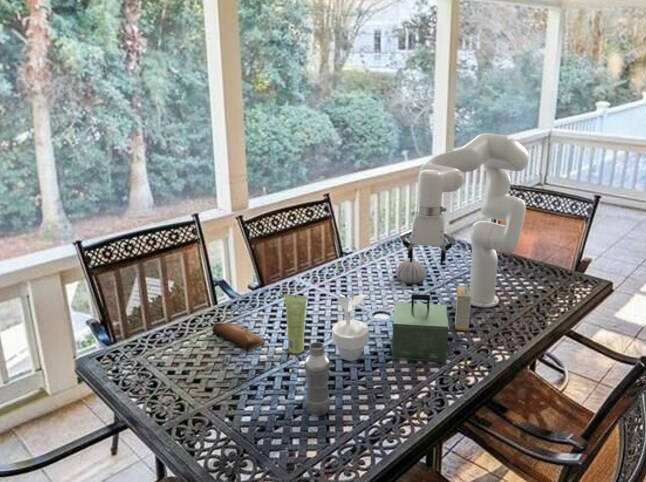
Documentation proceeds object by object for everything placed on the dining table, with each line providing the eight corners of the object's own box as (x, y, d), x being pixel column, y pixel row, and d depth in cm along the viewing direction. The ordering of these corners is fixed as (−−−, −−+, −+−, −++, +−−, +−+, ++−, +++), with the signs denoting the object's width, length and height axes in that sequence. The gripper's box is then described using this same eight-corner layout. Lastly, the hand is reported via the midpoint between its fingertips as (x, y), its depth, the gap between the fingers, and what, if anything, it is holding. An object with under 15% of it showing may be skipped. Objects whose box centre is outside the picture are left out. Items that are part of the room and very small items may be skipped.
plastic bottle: (305, 404, 146) (303, 339, 140) (329, 403, 146) (329, 338, 141) (305, 420, 140) (303, 353, 134) (331, 418, 140) (330, 351, 134)
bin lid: (394, 304, 177) (395, 289, 175) (445, 307, 175) (446, 292, 173) (393, 325, 163) (393, 310, 162) (448, 329, 161) (449, 313, 160)
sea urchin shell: (389, 281, 222) (389, 263, 220) (403, 269, 233) (404, 252, 231) (418, 288, 216) (419, 269, 213) (432, 276, 227) (432, 258, 224)
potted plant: (342, 370, 161) (342, 295, 154) (326, 351, 171) (325, 280, 164) (378, 359, 167) (380, 286, 160) (360, 342, 177) (360, 272, 169)
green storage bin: (393, 337, 179) (394, 305, 176) (444, 340, 177) (445, 308, 174) (392, 359, 167) (393, 326, 163) (446, 363, 165) (448, 329, 161)
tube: (302, 344, 176) (300, 289, 170) (308, 351, 171) (306, 296, 166) (286, 348, 173) (283, 293, 168) (291, 356, 169) (289, 300, 163)
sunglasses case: (266, 340, 177) (258, 328, 173) (253, 357, 174) (244, 346, 169) (231, 323, 188) (222, 312, 184) (218, 339, 185) (209, 328, 180)
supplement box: (469, 331, 183) (471, 296, 179) (454, 330, 184) (457, 295, 180) (468, 319, 191) (471, 286, 187) (454, 318, 192) (457, 285, 188)
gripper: (457, 208, 167) (453, 259, 172) (401, 205, 170) (400, 255, 175) (457, 215, 160) (454, 268, 165) (400, 211, 163) (398, 264, 168)
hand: (426, 261), depth 170 cm, fingers open, 9 cm apart
